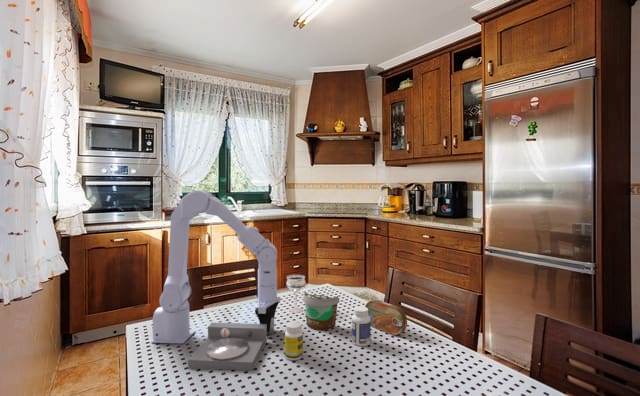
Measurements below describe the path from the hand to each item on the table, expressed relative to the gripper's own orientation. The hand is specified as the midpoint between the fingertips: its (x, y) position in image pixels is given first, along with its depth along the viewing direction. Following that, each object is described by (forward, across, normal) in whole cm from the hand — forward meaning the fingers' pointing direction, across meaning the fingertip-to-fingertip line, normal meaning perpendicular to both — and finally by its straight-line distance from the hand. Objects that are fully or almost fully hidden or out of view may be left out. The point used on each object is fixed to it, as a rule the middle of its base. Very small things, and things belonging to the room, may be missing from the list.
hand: (267, 328), depth 100 cm
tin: (+2, +5, -36) cm, 36 cm away
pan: (-1, -15, +7) cm, 17 cm away
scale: (+1, -13, +7) cm, 15 cm away
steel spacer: (+2, 0, 0) cm, 2 cm away
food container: (+2, +5, -15) cm, 16 cm away
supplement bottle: (+2, -13, -10) cm, 16 cm away
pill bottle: (+2, -4, -28) cm, 28 cm away
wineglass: (+2, +19, -6) cm, 20 cm away
